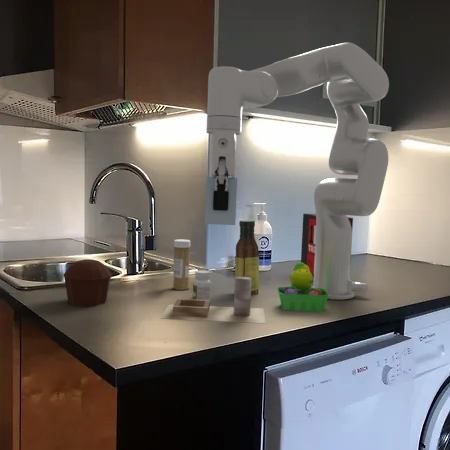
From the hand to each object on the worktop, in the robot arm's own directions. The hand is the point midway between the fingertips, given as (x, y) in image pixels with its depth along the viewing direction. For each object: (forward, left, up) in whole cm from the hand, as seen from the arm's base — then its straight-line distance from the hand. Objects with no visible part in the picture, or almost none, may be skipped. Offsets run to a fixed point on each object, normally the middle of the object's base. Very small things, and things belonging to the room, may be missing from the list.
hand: (220, 208), depth 111 cm
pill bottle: (+4, -11, -24) cm, 27 cm away
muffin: (+31, -7, -24) cm, 40 cm away
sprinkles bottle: (+11, -26, -24) cm, 37 cm away
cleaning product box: (-32, -51, -24) cm, 65 cm away
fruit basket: (-20, -7, -24) cm, 32 cm away
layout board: (0, +2, -24) cm, 24 cm away
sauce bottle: (-7, -21, -24) cm, 33 cm away
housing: (0, 0, -3) cm, 3 cm away
